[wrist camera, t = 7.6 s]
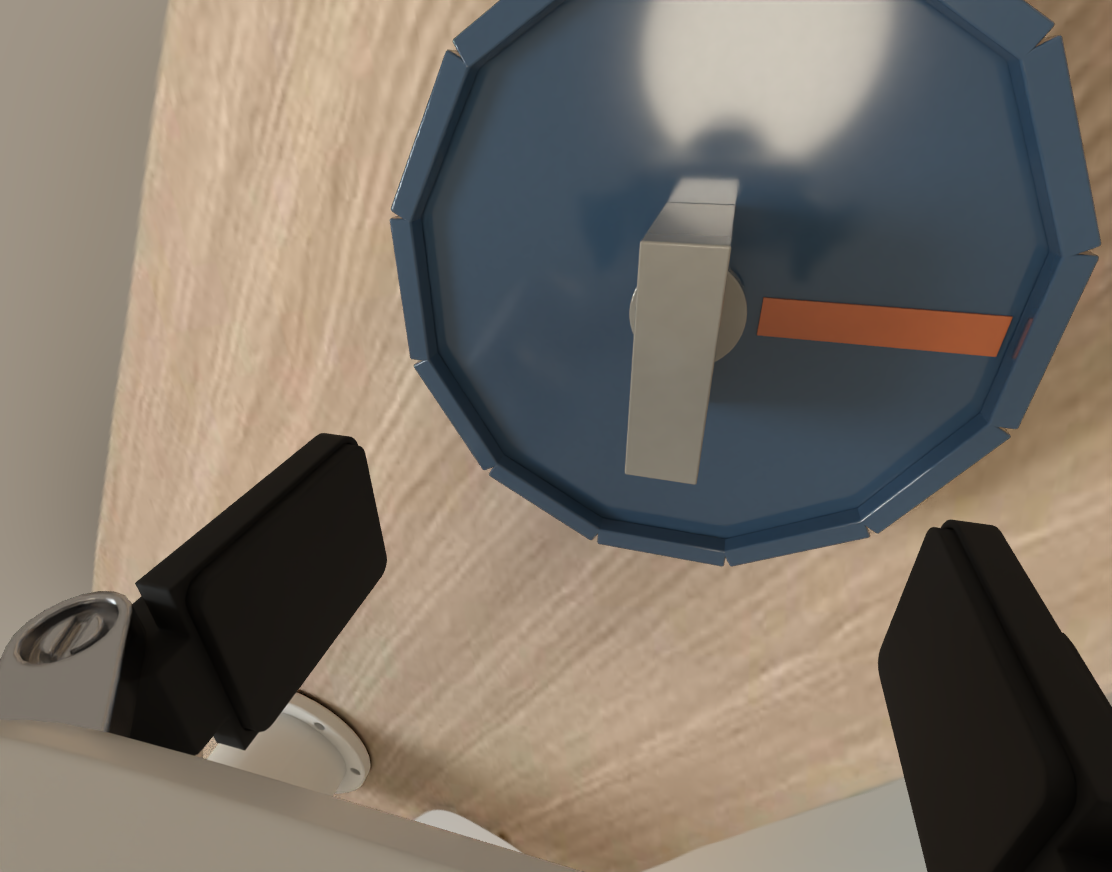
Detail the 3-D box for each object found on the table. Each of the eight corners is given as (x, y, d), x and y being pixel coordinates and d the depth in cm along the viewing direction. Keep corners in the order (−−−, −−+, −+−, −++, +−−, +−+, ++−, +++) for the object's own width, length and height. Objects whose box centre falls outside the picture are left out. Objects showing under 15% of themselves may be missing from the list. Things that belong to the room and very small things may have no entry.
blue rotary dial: (448, 492, 27) (383, 582, 22) (376, -64, 16) (224, -123, 12) (923, 574, 22) (972, 711, 17) (1235, -129, 12) (1565, -270, 7)
